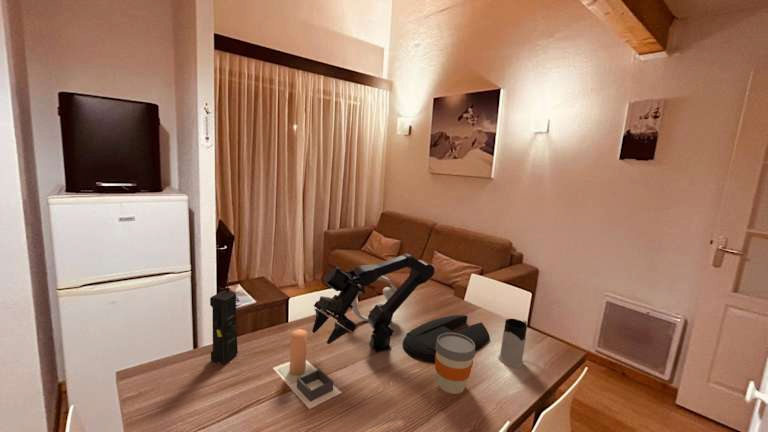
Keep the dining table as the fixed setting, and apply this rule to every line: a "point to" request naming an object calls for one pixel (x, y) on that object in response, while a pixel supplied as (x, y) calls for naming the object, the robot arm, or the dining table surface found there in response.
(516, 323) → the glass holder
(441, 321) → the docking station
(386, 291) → the headphones
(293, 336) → the tall peach cylinder
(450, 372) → the reusable coffee cup
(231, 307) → the portable radio
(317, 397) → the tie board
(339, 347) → the dining table surface
